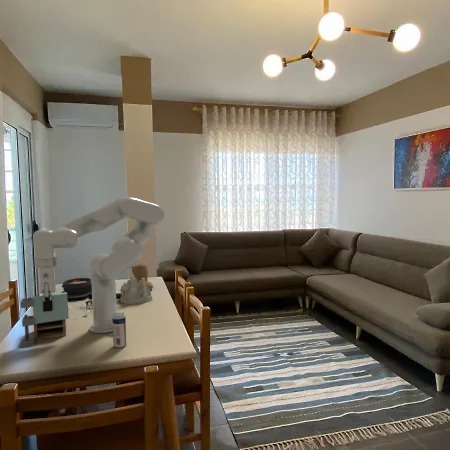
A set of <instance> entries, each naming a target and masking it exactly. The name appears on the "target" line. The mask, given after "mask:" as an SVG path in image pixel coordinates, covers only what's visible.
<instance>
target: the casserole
mask: <svg viewBox="0 0 450 450" xmlns="http://www.w3.org/2000/svg"><path fill="white" fill-rule="evenodd" d="M61 288H62V289H63V291H61V292H60V293H66V292H67V299H81V298H85V297H87V296H89V295H92V283H91V277H90V278H88V277H77V278H71V279H67V280H64V281H63V282H62V285H61Z"/></svg>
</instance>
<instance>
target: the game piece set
mask: <svg viewBox="0 0 450 450" xmlns="http://www.w3.org/2000/svg"><path fill="white" fill-rule="evenodd" d="M87 304H88V306H87V308H89V306H90V308H92V306H91V303H90V302H88V303H87ZM78 308H81V309H82V308H84V303H82V304H81V303H80V302H79V301H78ZM71 309H72V305H70V304H68V310H71ZM91 312H92V313H93V308H92V309H86V310H85V311H84V315H85V316H86V317H88V315H89V313H91ZM72 318H73V319H74V320H76V319H78V317H74V316H72Z"/></svg>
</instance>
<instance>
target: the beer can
mask: <svg viewBox="0 0 450 450" xmlns="http://www.w3.org/2000/svg"><path fill="white" fill-rule="evenodd" d="M126 316H127V315H126V314H125V312H117V313H115V314H114V315H113V317H112V321H113V331H112V342H113V344H112V346H113V347H114V348H117V349H118V348H121V349H122V348H124V347H126V346H127V322H126Z"/></svg>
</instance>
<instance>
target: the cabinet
mask: <svg viewBox="0 0 450 450" xmlns="http://www.w3.org/2000/svg"><path fill="white" fill-rule="evenodd" d="M28 316H29V315H28V314H24V316H23V317H24V319H28ZM66 321H67V319H63V320H57V321H51V322H44V323H38V324H35V325H33V336H34V337H30V331H29V330H30V328H29V326H24V336H25V337H24V338H22V339H21V340H20V343H19V347H20V348H25V347H26V348H27V347H33V346H35V341H40V340H47V339H48V340H49V339H54V338H59V337H60V338H61V337H66V336H67V323H66Z"/></svg>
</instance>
